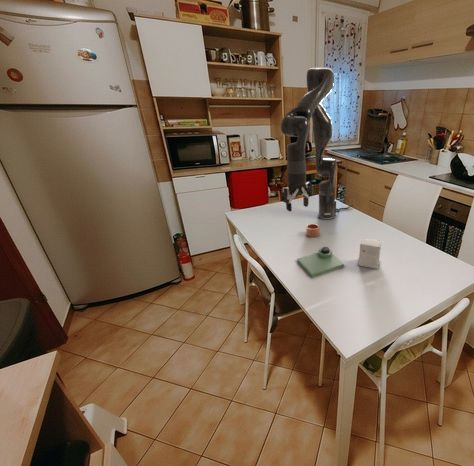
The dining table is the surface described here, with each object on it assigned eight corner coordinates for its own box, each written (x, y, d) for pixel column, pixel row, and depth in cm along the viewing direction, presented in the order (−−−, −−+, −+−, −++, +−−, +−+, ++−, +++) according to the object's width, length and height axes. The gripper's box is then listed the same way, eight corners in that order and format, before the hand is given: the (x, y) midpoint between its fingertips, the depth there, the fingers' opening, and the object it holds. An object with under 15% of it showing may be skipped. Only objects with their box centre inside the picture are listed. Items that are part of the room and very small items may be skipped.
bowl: (315, 230, 138) (315, 222, 136) (321, 235, 133) (321, 227, 131) (304, 233, 136) (304, 225, 134) (310, 238, 131) (310, 230, 129)
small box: (379, 262, 113) (382, 240, 108) (377, 269, 108) (380, 247, 103) (360, 258, 115) (362, 237, 110) (358, 265, 110) (360, 243, 105)
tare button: (326, 249, 116) (326, 246, 116) (330, 252, 114) (330, 249, 113) (320, 251, 115) (320, 247, 114) (324, 254, 112) (324, 251, 112)
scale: (327, 252, 119) (327, 246, 118) (343, 266, 109) (344, 260, 108) (297, 261, 113) (297, 255, 111) (312, 277, 103) (312, 271, 101)
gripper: (287, 175, 98) (289, 215, 105) (316, 169, 106) (316, 207, 114) (276, 171, 103) (278, 209, 111) (305, 166, 111) (305, 202, 119)
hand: (297, 208), depth 112 cm, fingers open, 8 cm apart
